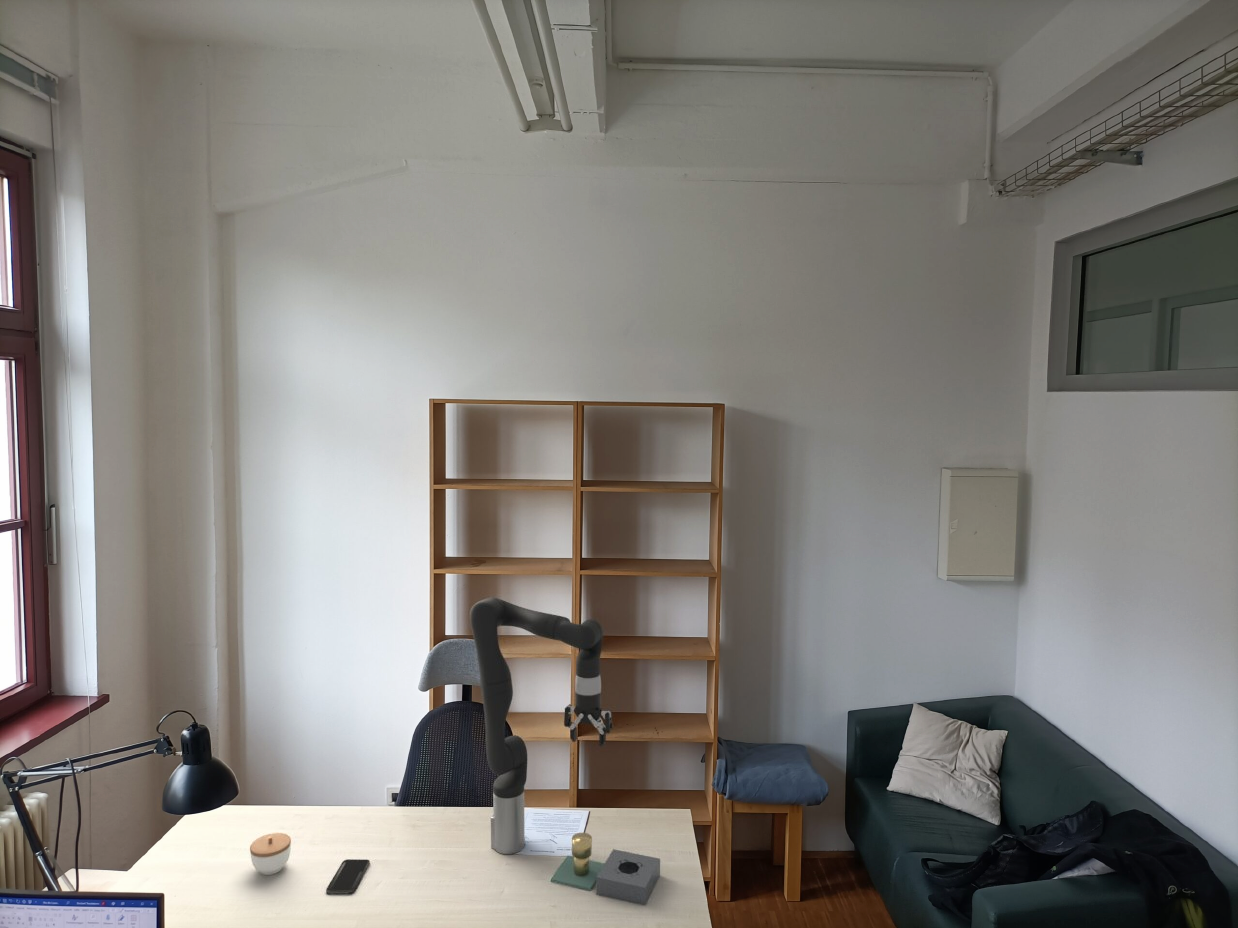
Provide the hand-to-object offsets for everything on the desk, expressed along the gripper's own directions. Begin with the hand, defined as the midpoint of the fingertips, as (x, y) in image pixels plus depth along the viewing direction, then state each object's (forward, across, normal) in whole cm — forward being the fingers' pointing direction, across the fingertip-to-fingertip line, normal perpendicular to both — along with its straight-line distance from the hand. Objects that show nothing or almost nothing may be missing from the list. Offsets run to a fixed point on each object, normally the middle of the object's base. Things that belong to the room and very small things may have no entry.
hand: (588, 742), depth 232 cm
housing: (+34, +16, -10) cm, 39 cm away
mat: (+34, +1, -10) cm, 36 cm away
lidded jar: (+34, -83, -37) cm, 97 cm away
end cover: (+33, +2, -10) cm, 35 cm away
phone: (+35, -59, -33) cm, 76 cm away
